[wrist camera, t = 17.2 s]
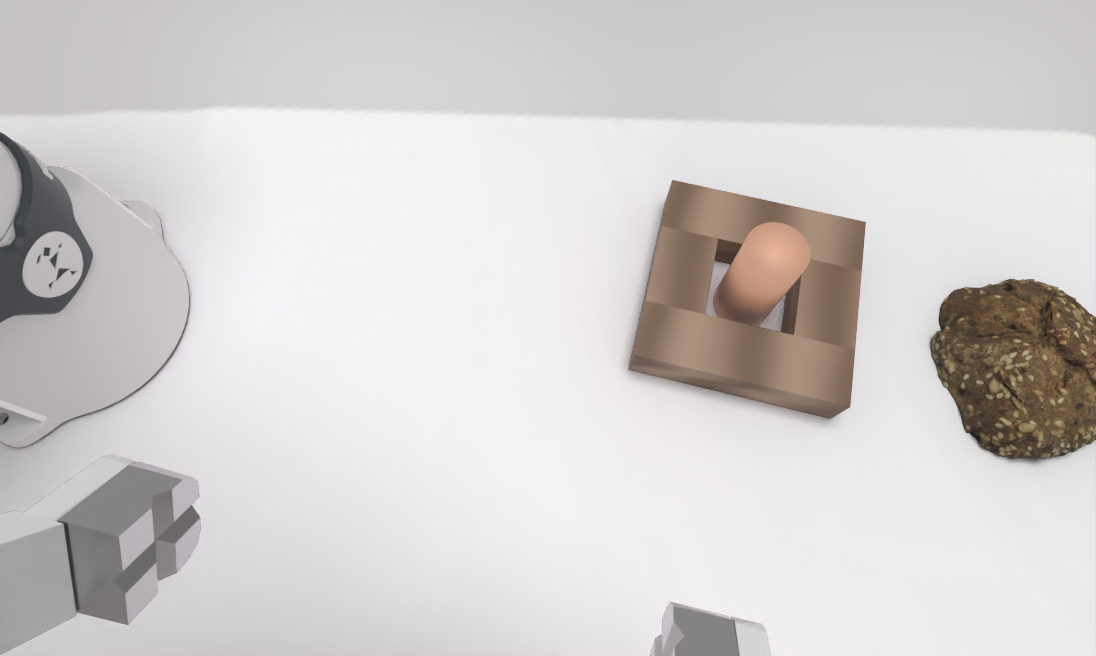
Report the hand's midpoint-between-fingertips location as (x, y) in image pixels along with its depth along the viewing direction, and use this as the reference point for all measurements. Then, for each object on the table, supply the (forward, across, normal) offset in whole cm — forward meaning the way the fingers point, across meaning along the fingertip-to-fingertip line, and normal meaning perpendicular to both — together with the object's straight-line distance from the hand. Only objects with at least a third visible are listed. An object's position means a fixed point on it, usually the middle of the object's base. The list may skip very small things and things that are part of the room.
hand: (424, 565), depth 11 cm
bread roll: (+38, -32, +7) cm, 50 cm away
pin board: (+38, -12, +7) cm, 40 cm away
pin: (+38, -12, +7) cm, 40 cm away
